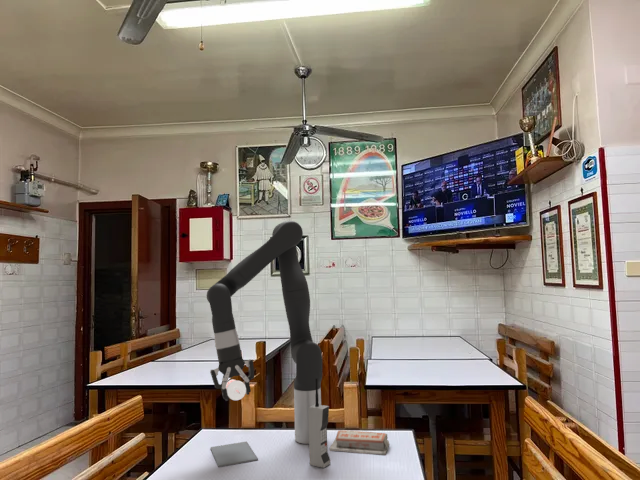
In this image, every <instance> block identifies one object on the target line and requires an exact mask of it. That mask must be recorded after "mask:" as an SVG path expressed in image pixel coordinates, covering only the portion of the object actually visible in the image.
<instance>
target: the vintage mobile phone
mask: <svg viewBox="0 0 640 480" xmlns="http://www.w3.org/2000/svg"><path fill="white" fill-rule="evenodd" d="M315 381H316V395H315V397H316V404H315V405H313V406H311V407H309V408H308V410H309V444H308V447H309V449H308V450H309V466H313V467H318V468H322V469H324V468H327V466H329V465H330V464H331V458H330V455H329V453H328V424H329V413H330V406H329V405H324V404H323V405H322V404H321V405H319V404H318V381H317V378H315Z"/></svg>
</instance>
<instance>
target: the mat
mask: <svg viewBox="0 0 640 480" xmlns="http://www.w3.org/2000/svg"><path fill="white" fill-rule="evenodd" d="M210 451H211V453H212V456H213V458H214V460H215V463H216V465H217V467H218V468H222V467H228V466H233V465H238V464H245V463H249V462H250V463H251V462H256V461H259V457H258V456H257V454H256V453H255V451H254V450H253V449H252V447H251V445H250V444H249V442H248V441H242V442H234V443H228V444H223V445H221V444H220V445H216V446H210Z"/></svg>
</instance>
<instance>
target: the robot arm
mask: <svg viewBox="0 0 640 480" xmlns="http://www.w3.org/2000/svg"><path fill="white" fill-rule="evenodd" d="M271 235H272V236H271V237H270V238H269V239H268V240H266V242H265V243H264V244H262V245H260V247H259V248H257V249H256V250H254V251H253V252H251V253H250V254H249V255H247V256H246V257H245V258H244V259H242V260H241V261H240V262H238V264H236V265H235V266H233V268H232V269H230V270H229V271H228V272H227V274H226V275H225V276H223V277H222V278H220V279H219V280H218V281H216V282H215V283H214V284H213V285H212V286H210V287H209V288H208V290H207V292H206V299H207V302H208V303H209V307H210V311H211V315H212V316H211V323H212V329H213V334H214V344H215V345H214V347H215V349H216V356H217V360H218V366H217V368H214V369H210V371H209V372H210V377H211V380H212V381H213V386H214V388H215V389H217V390H218V389H220V390H221V395H222V398H223V400H225V402H227V401H229V399H230V398H229V396H228V394H227V389H226V384H227V382H228V381H229V379H231V378H233V377H238V376H240V377H241V378H242V380H243V381H244V382H243V383H244V384H245V386H246V393H245V395H247V396H248V395H250V393H251V391H252V389H251V384H250V381H251V380H254V379H255V371H254V369H255V367H254V360H253V359H249V360H244V359H243V355H242V354H243V353H242V350H241V349H242V348H241V344H240V340H239V334H238V331H237V328H236V324H235V323H236V322H235V317H234V313H233V305H232V304H233V303H232V296H233V295H235V294H236V293H237V292H238V291H239V290H240V289H242V288H244V287H245V286H246V285H247V284H248V283H250V282H251V281H252V280H253V279H254V278H255V277H256V276H257V275H259V274H260V273H261V272H262V271H263V270H264V269H265V268H266V267H267V266H268V265H269V264H271V263H272V262H273V261H274V260H275V259H277V262H278V266H279V268H278V269H279V275H280V276H279V277H280V283H281V284H280V285H281V291H282V292H281V293H282V298H283V304H284V308H285V313H286V318H287V322H288V327H289V335H290V336H289V339H290V340H289V341H290V352H291V353H290V355H291V358H292V361H293V363H295V368H296V369H295V378H294V380H293V395H294V397H293V398H294V399H293V402H294V403H293V405H294V408H293V410H294V441H295V442H296V443H298V444H304V445H306V444H307V445H309V410H308V408H309V407H311V406H313V405H315V404H316V397H315V395H316V381H315V378H317V381H318V404H319V405H322V391H321V389H322V388H321V385H322V384H321V383H322V380H323V353H322V350H321V347H320V346H319V345H318V344H317V343H315V342H314V340H313V338H312V334H311V328H310V313H311V297H310V291H309V285H308V281H307V279H306V278H307V277H306V275H305V273H304V271H303V269H302V266H301V265H300V261H299V257H298V250H297V249H298V248H297V245H299V243H301V241H302V238H303V236H304V233H303V228H302V226H301V225H300V224H299V222H297V221H294V220H285V221H283V222H281V223H277V225H275V227H274V228H273V231H272V234H271ZM245 366H246V367H247V368H248V375H246V374H245V373H244V371H243V369H244V367H245ZM219 372H220V373H221V374H222V379H221V384H220V383H219V381H218V375H219Z"/></svg>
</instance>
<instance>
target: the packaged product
mask: <svg viewBox="0 0 640 480" xmlns="http://www.w3.org/2000/svg"><path fill="white" fill-rule="evenodd" d="M389 441H390V440H388V433H385V432H372V431H358V430H345V429H342V430H337V433H336V437H335V439H333V441H332V443H331V445H330V447H329V451H330V452H344V453H353V454H366V455H368V454H369V455H379V456H380V455H381V456H386V454H387V451H388V448H389V445H390V442H389Z"/></svg>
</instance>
